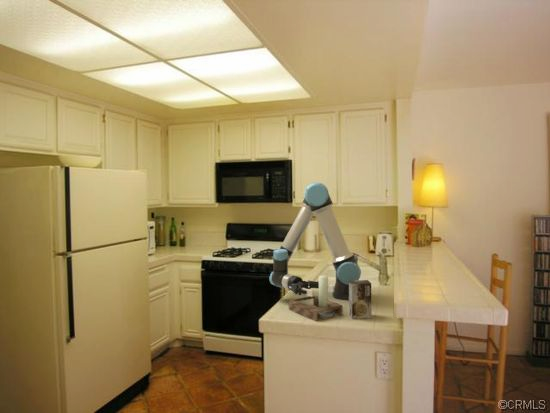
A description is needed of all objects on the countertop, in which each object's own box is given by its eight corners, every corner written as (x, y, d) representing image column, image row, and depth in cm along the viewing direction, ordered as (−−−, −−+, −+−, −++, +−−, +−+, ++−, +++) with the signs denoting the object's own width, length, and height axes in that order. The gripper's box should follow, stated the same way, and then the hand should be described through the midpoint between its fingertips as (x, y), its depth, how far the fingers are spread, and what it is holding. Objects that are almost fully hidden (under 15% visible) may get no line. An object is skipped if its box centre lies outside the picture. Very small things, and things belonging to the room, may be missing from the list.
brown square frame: (288, 309, 187) (288, 300, 187) (314, 304, 195) (314, 295, 195) (315, 321, 170) (315, 311, 169) (342, 314, 178) (342, 305, 178)
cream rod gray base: (324, 311, 184) (324, 273, 183) (337, 316, 176) (337, 277, 176) (309, 314, 179) (309, 276, 178) (322, 320, 171) (322, 279, 171)
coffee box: (367, 314, 179) (368, 279, 179) (371, 318, 173) (372, 282, 172) (348, 314, 179) (348, 279, 178) (351, 319, 173) (351, 283, 172)
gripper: (310, 286, 201) (341, 295, 185) (273, 294, 186) (303, 304, 169) (310, 272, 201) (341, 279, 185) (273, 279, 186) (303, 287, 169)
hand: (323, 291), depth 177 cm, fingers open, 13 cm apart
